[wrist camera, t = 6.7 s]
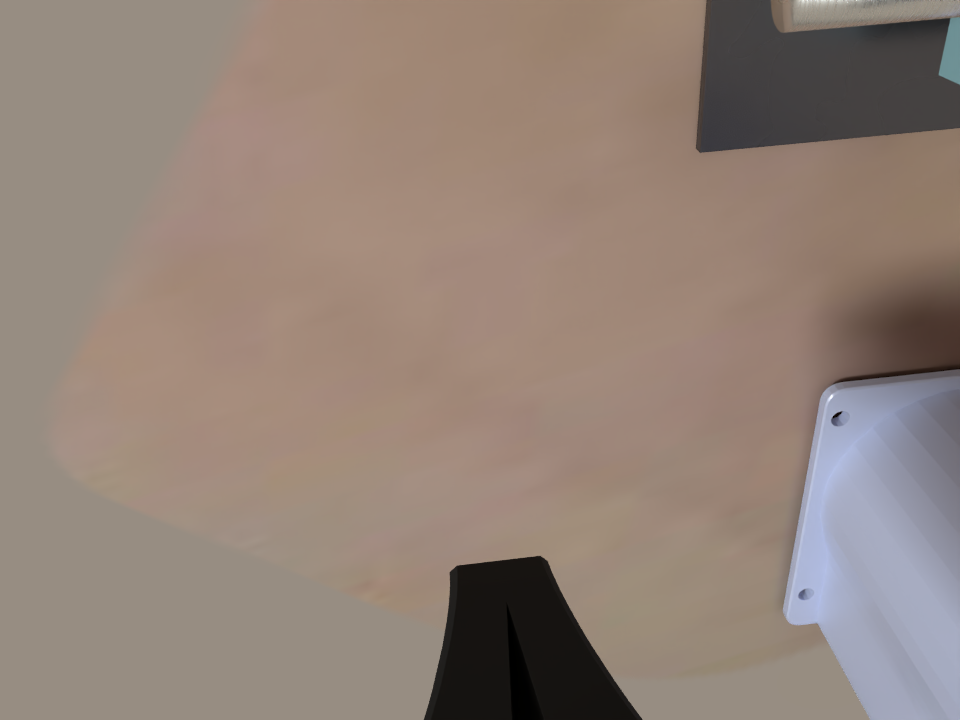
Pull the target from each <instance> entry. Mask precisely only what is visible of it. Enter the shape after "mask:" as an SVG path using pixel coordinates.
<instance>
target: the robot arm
mask: <svg viewBox="0 0 960 720" xmlns="http://www.w3.org/2000/svg"><path fill="white" fill-rule="evenodd" d="M841 411H842V413H841V414H840V415H839V416H838V417H835V418H832V417H833V416H834V415H835V414H836V413H837V412H841ZM783 613H784V615H785V617H786V619H787V621H788V622H789V623H790V624H793V625H805V624H813V623H818V625H819V627H820V629H821V631H822V632H823V634H824V636H825V638H826V640H827V641H828V643H829V645H830V647H831V649H832V651H833V652H834V654H835V656H836V658H837V660H838V662H839V663H840V665H841V667H842V669H843V671H844V673H845V674H846V676H847V678H848V680H849V682H850V684H851V685H852V687H853V689H854V691H855V693H856V694H857V696H858V698H859V700H860V702H861V704H862V705H863V707H864V709H865V711H866V713H867V715H868V717H869V718H870V720H960V369H957V370H948V371H939V372H930V373H921V374H912V375H903V376H894V377H885V378H875V379H866V380H857V381H848V382H840V383H836V384H833V385H832V386H830V387H828V388H827V389H826V390H825V391H824V392H823V394H822V396H821V399H820V404H819V409H818V415H817V421H816V426H815V432H814V438H813V443H812V449H811V454H810V460H809V466H808V471H807V477H806V483H805V488H804V494H803V499H802V505H801V511H800V516H799V522H798V528H797V533H796V539H795V544H794V550H793V556H792V561H791V567H790V573H789V578H788V584H787V590H786V595H785V601H784V606H783ZM424 720H642V718H641V717H640V716H639V714H638V713H637V712H636V710H635V709H634V707H633V706H632V705H631V703H630V702H629V701H628V699H627V698H626V696H625V695H624V694H623V692H622V691H621V690H620V688H619V687H618V685H617V684H616V682H615V681H614V679H613V678H612V676H611V675H610V673H609V672H608V670H607V669H606V667H605V666H604V664H603V662H602V661H601V659H600V658H599V656H598V655H597V653H596V652H595V650H594V649H593V647H592V646H591V644H590V642H589V641H588V639H587V637H586V636H585V634H584V632H583V631H582V629H581V627H580V626H579V624H578V622H577V620H576V619H575V617H574V615H573V613H572V612H571V610H570V608H569V606H568V604H567V602H566V600H565V599H564V597H563V595H562V593H561V591H560V589H559V587H558V585H557V582H556V580H555V578H554V576H553V574H552V571H551V569H550V566H549V564H548V561H547V560H545V559H544V558H542V557H541V556H535V557H527V558H518V559H510V560H501V561H493V562H484V563H476V564H467V565H459V566H456V567H455V568H454V569H453V570H452V571H451V572H450V598H449V609H448V616H447V624H446V629H445V635H444V641H443V647H442V651H441V655H440V660H439V664H438V668H437V673H436V677H435V681H434V685H433V690H432V694H431V697H430V701H429V705H428V708H427V711H426V715H425V718H424Z"/></svg>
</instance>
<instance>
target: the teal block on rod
mask: <svg viewBox="0 0 960 720" xmlns="http://www.w3.org/2000/svg"><path fill="white" fill-rule="evenodd" d="M939 75H940V76H942V77H944V78H946V79H949V80H951V81H953V82H955V83H957V84H959V85H960V17H956V18H951V19H950V23H949V28H948V33H947V37H946V42H945V47H944V51H943V56H942V61H941V65H940V70H939Z"/></svg>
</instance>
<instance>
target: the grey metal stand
mask: <svg viewBox="0 0 960 720" xmlns="http://www.w3.org/2000/svg"><path fill="white" fill-rule="evenodd" d="M956 17H960V0H707V3H706V17H705V31H704V45H703V59H702V73H701V87H700V101H699V115H698V129H697V143H696V149H697V150H698V151H699V152H700V153H701V152H712V151H723V150H733V149H744V148H754V147H765V146H775V145H786V144H796V143H807V142H817V141H828V140H838V139H849V138H859V137H870V136H880V135H891V134H901V133H912V132H922V131H933V130H943V129H954V128H960V85H959V84H957V83H955V82H953V81H951V80H949V79H946V78H944V77H942V76H940V75H939V70H940V65H941V61H942V56H943V51H944V47H945V42H946V37H947V33H948V28H949V23H950V19H951V18H956Z"/></svg>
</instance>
